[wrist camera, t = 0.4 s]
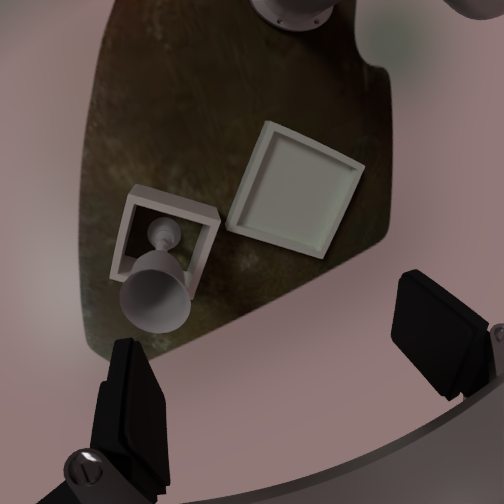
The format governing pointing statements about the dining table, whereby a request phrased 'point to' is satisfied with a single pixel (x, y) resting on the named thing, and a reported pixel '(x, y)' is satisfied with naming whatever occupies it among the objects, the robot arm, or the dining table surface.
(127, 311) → the chalice
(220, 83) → the dining table surface
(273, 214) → the tray
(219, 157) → the dining table surface
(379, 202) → the dining table surface
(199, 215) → the sleeve
